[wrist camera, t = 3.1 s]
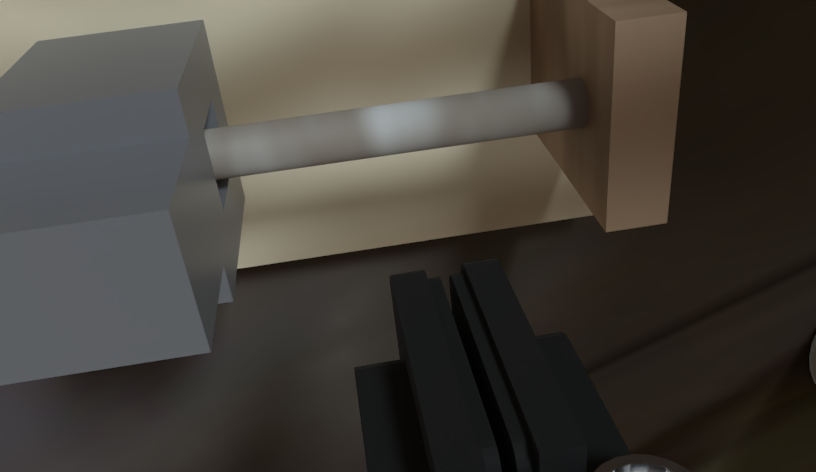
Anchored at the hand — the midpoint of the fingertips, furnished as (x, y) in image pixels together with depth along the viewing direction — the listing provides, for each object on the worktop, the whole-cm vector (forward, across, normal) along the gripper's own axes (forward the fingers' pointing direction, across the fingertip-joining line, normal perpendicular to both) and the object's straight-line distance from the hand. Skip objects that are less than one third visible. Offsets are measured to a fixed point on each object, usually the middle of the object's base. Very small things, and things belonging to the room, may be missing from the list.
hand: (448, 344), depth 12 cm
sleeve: (+10, +6, -1) cm, 12 cm away
